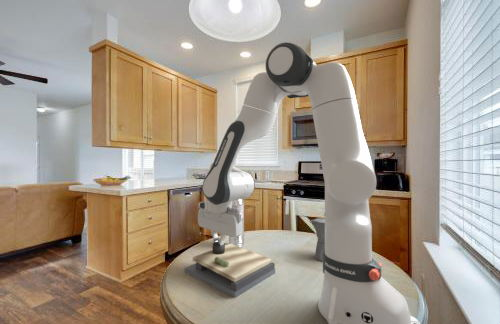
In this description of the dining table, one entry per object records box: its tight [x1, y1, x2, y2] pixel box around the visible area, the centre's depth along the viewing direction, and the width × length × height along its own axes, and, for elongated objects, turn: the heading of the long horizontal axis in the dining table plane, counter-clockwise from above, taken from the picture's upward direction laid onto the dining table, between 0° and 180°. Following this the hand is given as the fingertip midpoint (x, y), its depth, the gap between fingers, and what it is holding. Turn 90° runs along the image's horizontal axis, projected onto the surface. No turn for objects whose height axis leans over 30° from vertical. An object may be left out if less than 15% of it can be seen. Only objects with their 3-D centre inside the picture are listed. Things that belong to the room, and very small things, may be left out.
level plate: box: [192, 242, 272, 282], centre depth 80 cm, size 20×18×4 cm
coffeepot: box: [309, 213, 325, 263], centre depth 94 cm, size 15×9×18 cm, turn 86°
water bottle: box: [228, 199, 245, 249], centre depth 107 cm, size 7×7×25 cm
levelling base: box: [184, 261, 276, 298], centre depth 81 cm, size 24×20×4 cm
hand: (218, 243), depth 85 cm, fingers closed on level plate
